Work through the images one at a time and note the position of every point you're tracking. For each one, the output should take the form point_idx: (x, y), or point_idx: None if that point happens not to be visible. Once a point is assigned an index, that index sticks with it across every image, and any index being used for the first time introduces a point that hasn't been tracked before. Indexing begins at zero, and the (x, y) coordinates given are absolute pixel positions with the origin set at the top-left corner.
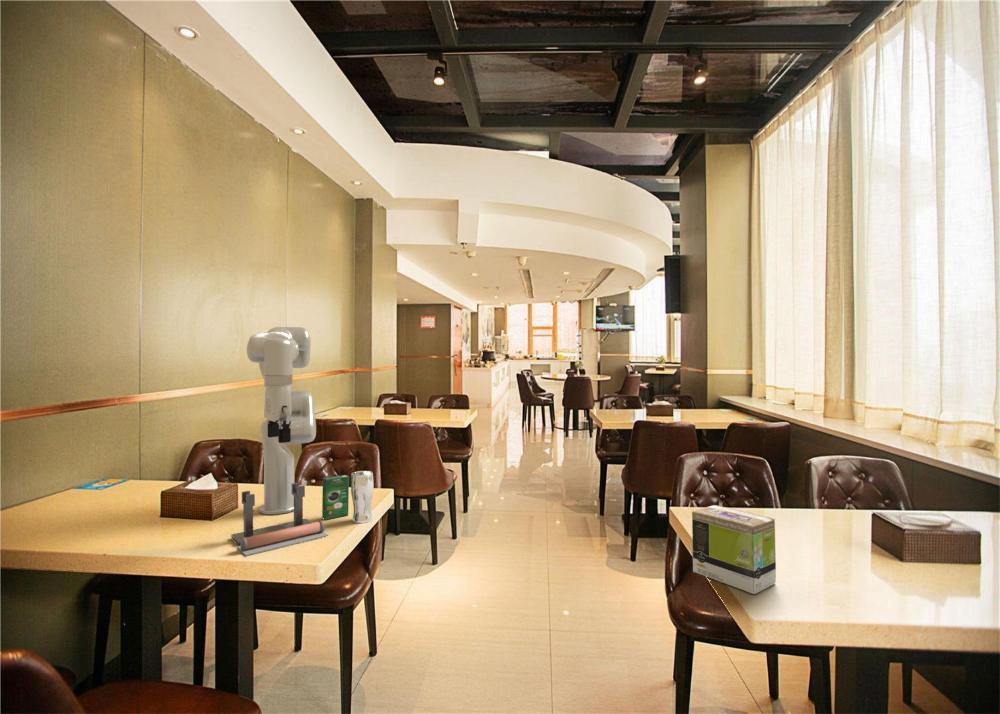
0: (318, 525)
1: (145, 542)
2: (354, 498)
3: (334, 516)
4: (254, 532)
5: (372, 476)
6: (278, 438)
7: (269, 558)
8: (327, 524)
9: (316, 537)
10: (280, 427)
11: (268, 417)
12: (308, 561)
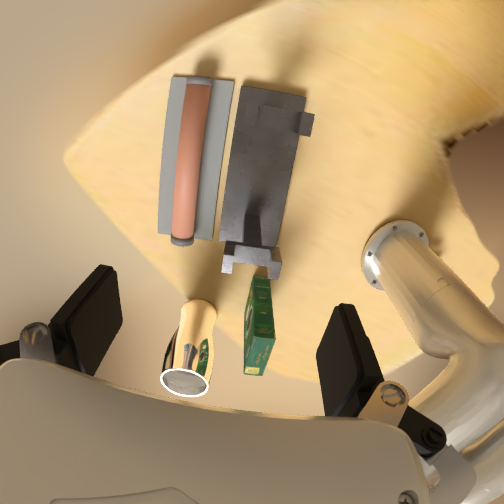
0: (172, 231)
1: (410, 14)
2: (186, 330)
3: (249, 293)
4: (277, 134)
5: (170, 384)
6: (96, 278)
7: (129, 107)
8: None
9: (159, 211)
10: (37, 334)
11: (193, 430)
12: (75, 153)
